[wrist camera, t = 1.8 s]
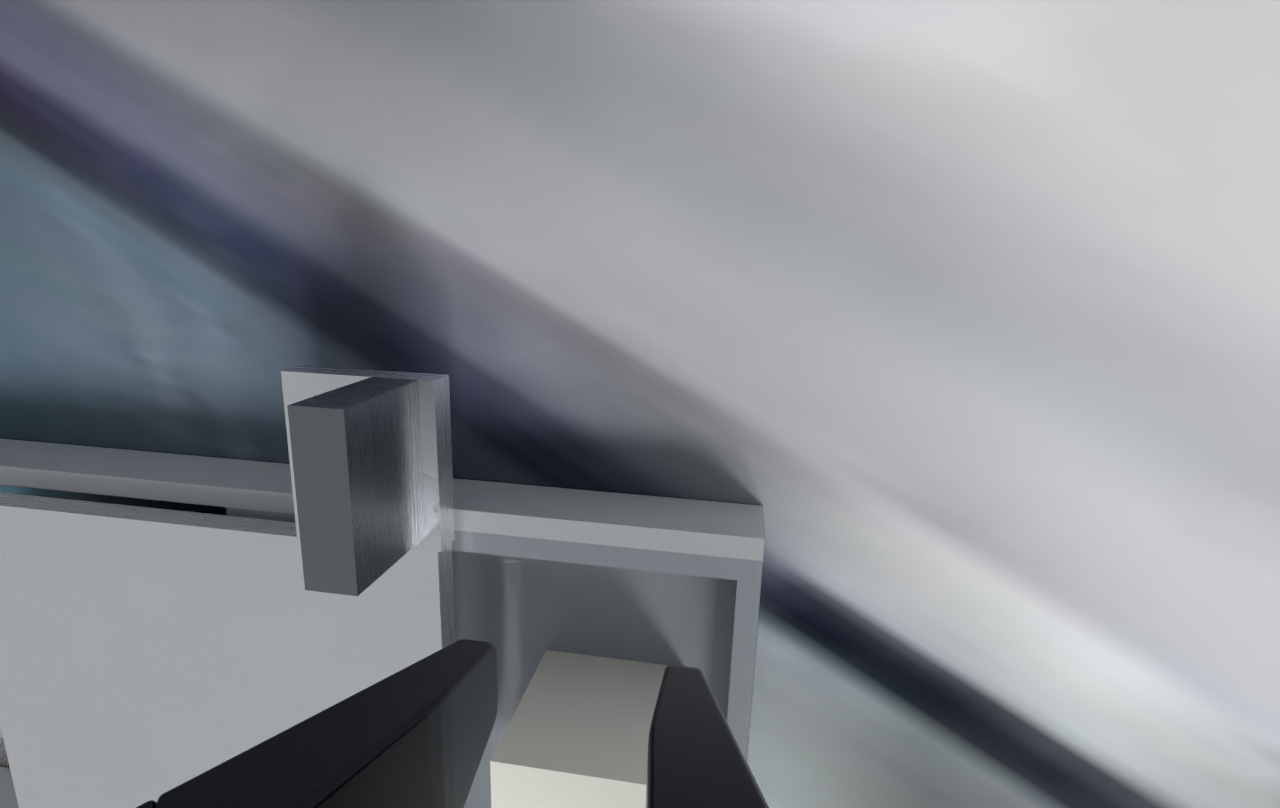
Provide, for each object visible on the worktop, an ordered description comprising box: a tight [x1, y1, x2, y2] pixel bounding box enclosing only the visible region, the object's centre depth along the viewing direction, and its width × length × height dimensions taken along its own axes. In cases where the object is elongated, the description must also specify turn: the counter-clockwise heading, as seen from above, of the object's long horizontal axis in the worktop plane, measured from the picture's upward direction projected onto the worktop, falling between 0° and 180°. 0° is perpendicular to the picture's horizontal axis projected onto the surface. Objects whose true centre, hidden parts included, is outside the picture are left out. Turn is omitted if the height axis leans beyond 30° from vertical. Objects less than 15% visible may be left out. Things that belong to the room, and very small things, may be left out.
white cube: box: [490, 650, 669, 808], centre depth 18 cm, size 4×4×4 cm
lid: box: [0, 366, 455, 808], centre depth 18 cm, size 15×17×4 cm
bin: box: [0, 439, 765, 808], centre depth 21 cm, size 30×14×2 cm, turn 88°
